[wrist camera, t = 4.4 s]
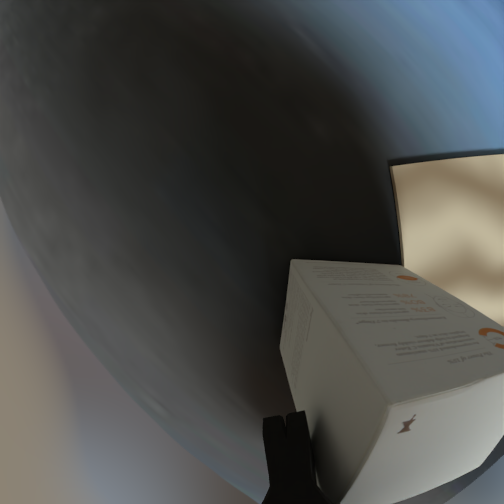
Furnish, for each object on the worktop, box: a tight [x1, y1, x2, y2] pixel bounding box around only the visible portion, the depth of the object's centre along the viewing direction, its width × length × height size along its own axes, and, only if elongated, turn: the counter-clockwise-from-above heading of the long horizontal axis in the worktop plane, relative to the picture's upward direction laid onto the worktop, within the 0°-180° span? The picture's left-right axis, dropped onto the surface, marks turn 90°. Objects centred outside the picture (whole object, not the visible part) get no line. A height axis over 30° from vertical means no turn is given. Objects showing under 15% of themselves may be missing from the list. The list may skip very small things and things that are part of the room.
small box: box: [280, 259, 504, 504], centre depth 12 cm, size 8×6×13 cm
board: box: [390, 154, 504, 327], centre depth 18 cm, size 19×14×1 cm
